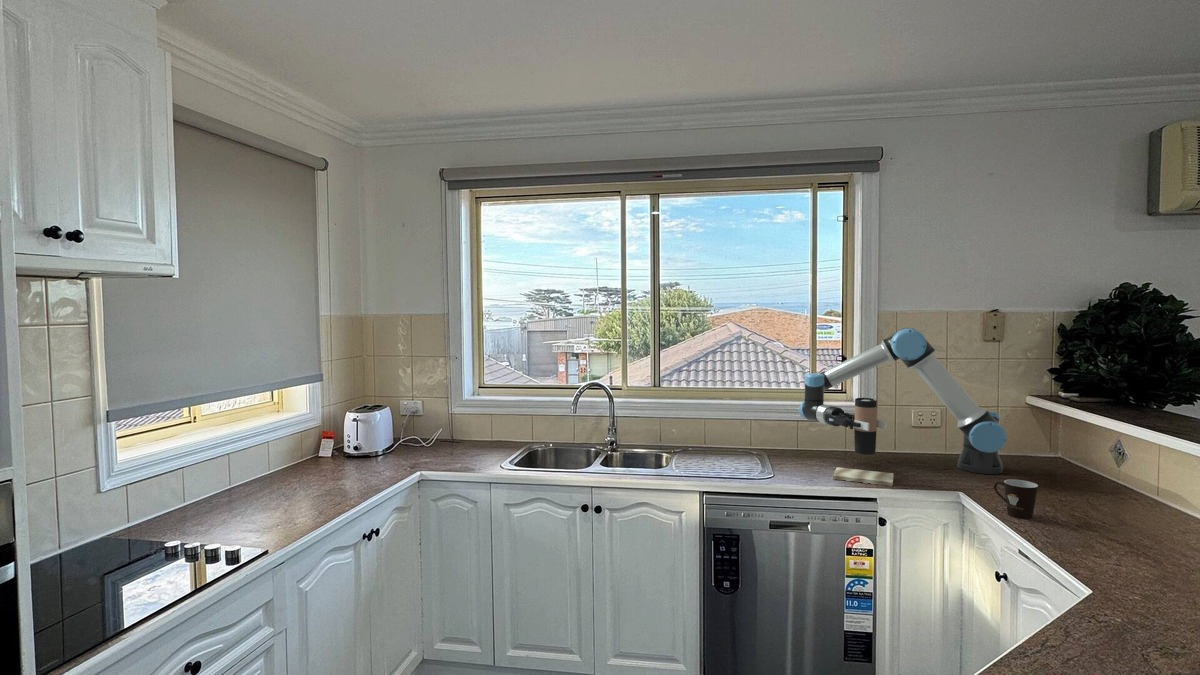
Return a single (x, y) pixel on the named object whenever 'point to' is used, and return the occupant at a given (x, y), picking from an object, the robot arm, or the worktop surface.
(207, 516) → the worktop surface
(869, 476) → the dock pad
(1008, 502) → the coffee mug
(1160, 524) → the worktop surface
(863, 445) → the travel mug
